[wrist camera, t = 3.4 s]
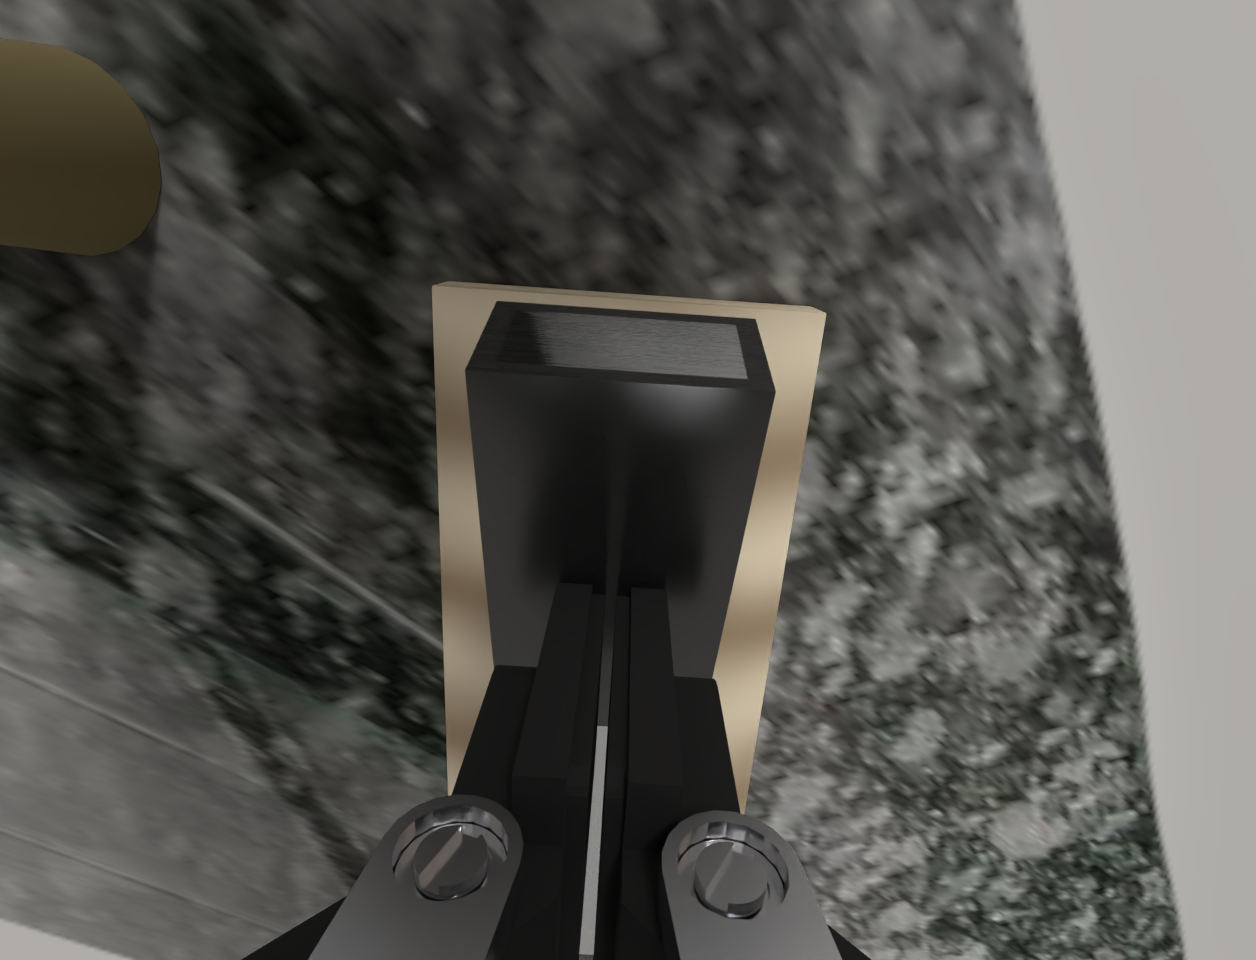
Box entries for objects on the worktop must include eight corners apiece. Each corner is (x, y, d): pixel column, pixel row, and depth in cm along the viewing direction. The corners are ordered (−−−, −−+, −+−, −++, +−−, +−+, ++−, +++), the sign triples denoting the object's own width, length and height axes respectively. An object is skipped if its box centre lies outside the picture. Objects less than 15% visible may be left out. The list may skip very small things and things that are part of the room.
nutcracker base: (448, 280, 22) (275, 328, 12) (810, 306, 23) (970, 376, 12) (460, 779, 30) (360, 1094, 19) (734, 796, 30) (789, 1118, 19)
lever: (519, 251, 11) (464, 370, 8) (741, 266, 11) (775, 391, 8) (541, 820, 23) (522, 960, 19) (649, 826, 23) (647, 968, 19)
